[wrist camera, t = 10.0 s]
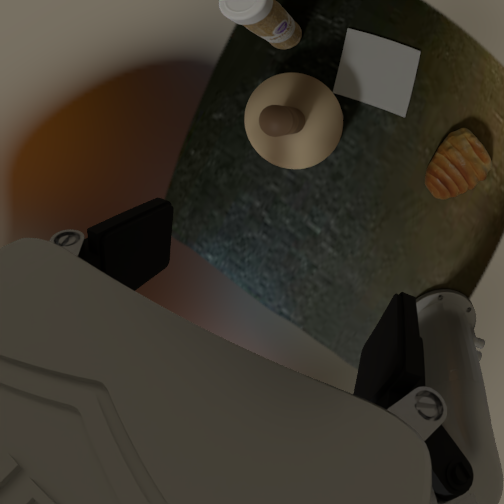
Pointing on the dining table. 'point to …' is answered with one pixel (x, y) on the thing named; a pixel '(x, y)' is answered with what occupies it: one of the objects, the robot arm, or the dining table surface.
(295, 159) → the lid
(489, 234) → the dining table surface
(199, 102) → the dining table surface
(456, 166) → the pastry
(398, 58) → the mat
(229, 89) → the dining table surface
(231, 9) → the sprinkles bottle
